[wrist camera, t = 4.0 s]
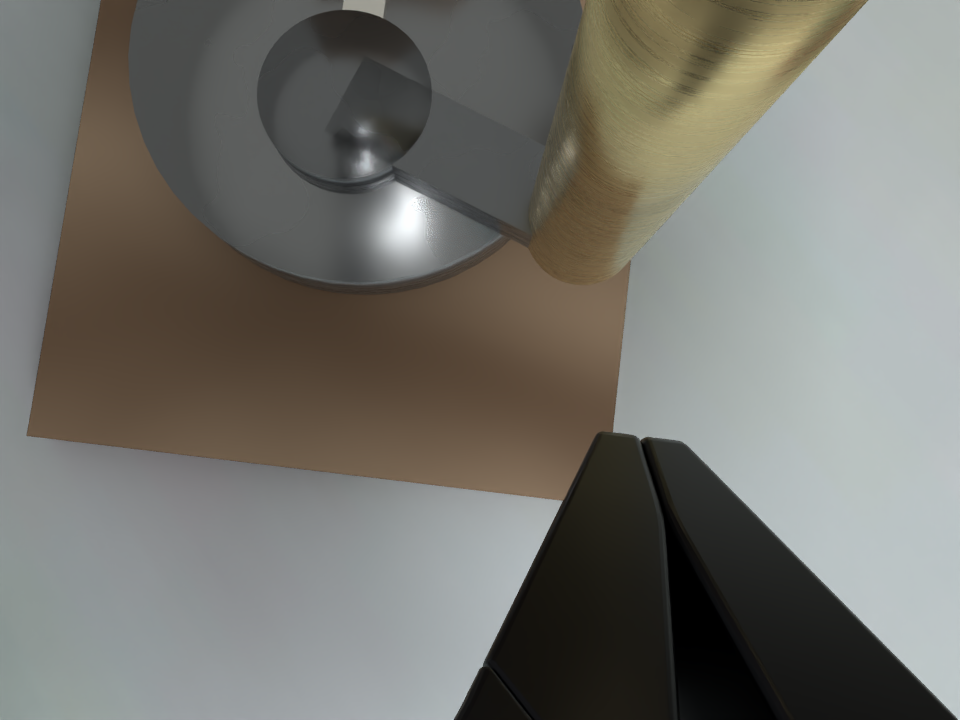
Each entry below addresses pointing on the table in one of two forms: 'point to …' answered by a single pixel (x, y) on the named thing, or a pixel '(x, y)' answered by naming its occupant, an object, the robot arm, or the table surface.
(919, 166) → the table surface
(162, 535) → the table surface
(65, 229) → the level stand
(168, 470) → the table surface
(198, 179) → the cam capstan
